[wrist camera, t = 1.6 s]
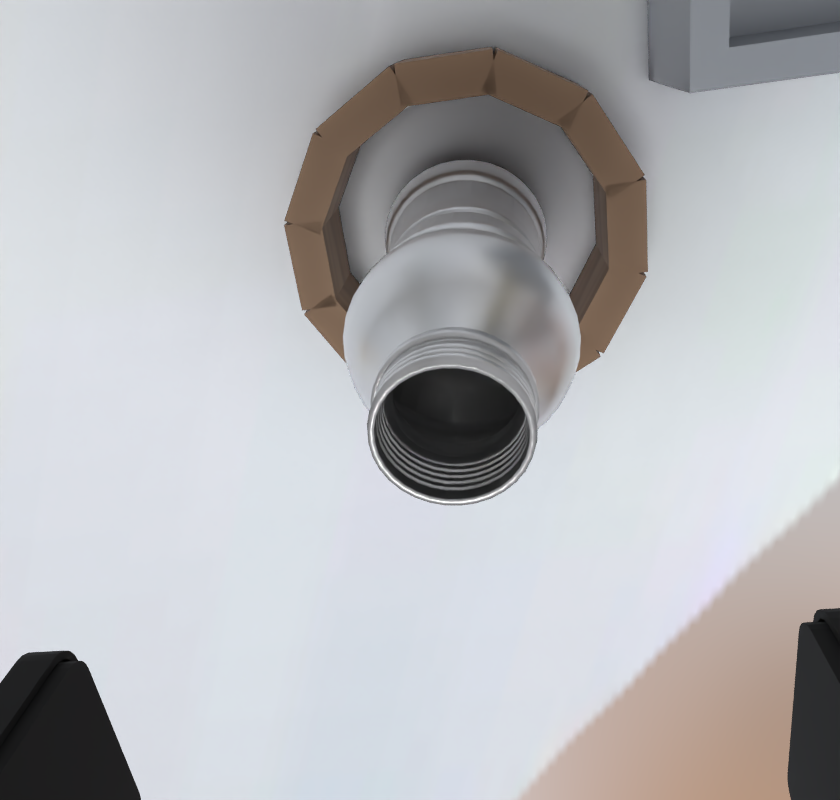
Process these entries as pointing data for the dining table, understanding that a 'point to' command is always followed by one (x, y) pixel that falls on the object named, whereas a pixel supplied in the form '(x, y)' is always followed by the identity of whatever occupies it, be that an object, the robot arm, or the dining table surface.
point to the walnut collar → (454, 79)
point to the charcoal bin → (741, 41)
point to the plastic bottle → (460, 335)
